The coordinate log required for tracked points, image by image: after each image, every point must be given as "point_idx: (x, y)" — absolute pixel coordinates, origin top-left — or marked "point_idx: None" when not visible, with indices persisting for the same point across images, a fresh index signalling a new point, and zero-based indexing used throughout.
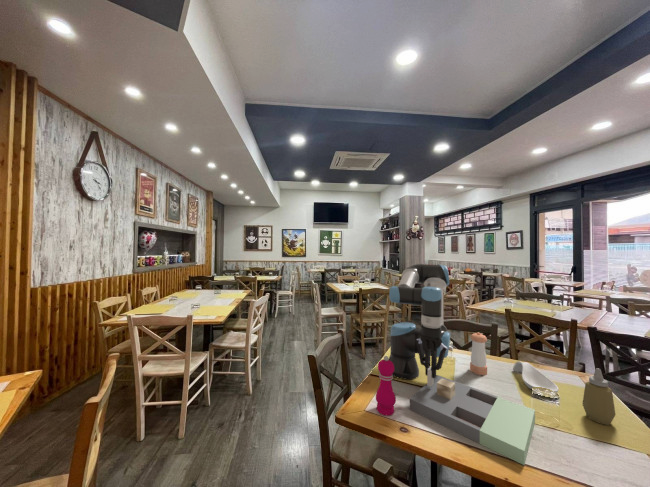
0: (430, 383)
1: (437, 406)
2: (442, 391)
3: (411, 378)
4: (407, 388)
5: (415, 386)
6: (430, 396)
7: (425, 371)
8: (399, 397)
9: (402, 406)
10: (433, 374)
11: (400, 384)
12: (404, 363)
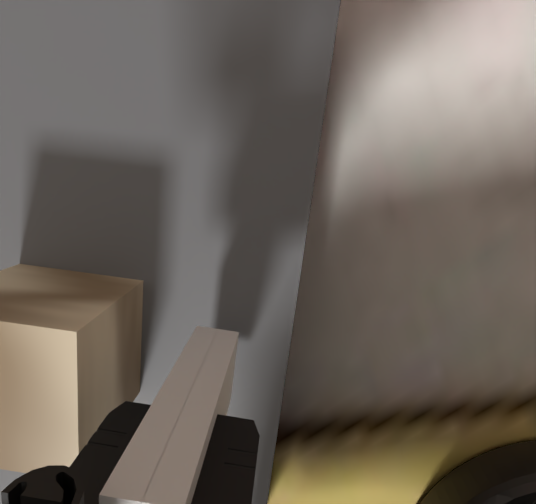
0: (194, 342)
1: (59, 52)
2: (61, 290)
3: (444, 484)
4: (434, 335)
5: (384, 400)
6: (176, 197)
7: (253, 469)
8: (459, 157)
9: (396, 34)
10: (112, 444)
11: (505, 359)
12: None
